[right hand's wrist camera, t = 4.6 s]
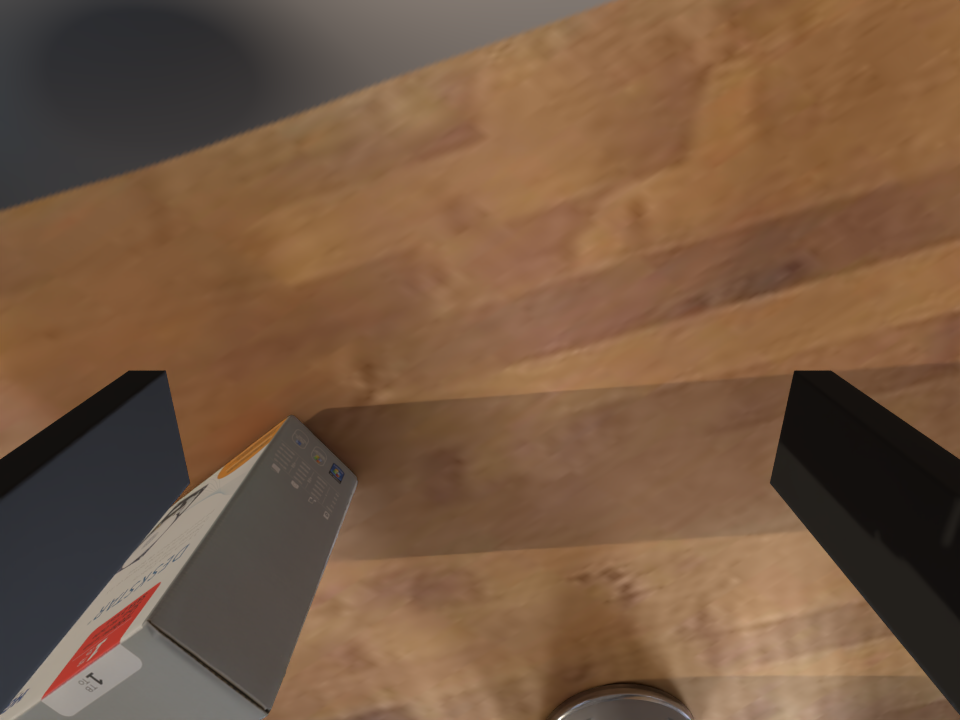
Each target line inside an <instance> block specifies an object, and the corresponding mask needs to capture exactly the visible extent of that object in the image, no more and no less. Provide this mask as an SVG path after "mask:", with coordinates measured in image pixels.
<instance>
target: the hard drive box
mask: <svg viewBox="0 0 960 720" xmlns="http://www.w3.org/2000/svg"><path fill="white" fill-rule="evenodd" d="M357 483H358V481H357V477H356V476H355V475H354V474H353V473H352V472H351V471H350V470H349V468H348V467H346V466H345V465H344V464H343V463H342V462H341V461H340V460H339V459H338V458H337V457H336V456H335V455H334V454H333V453H332V452H331V451H330V450H329V449H328V448H327V447H326V446H325V445H324V444H323V443H322V442H321V441H320V440H319V439H318V438H317V437H316V436H315V435H314V434H313V433H312V432H311V431H310V430H309V429H308V428H307V427H306V426H305V425H304V424H303V423H301V422H300V421H299V420H298V419H297V418H296V417H295V416H294V415H290V416H288V417H287V418H286V419H284V420H283V421H282V422H280V423H279V424H278V425H276V426H275V427H274V428H272V429H271V430H270V431H269V432H267V433H266V434H265V435H263V436H262V437H261V438H259V439H258V440H257V441H256V442H254V443H253V444H252V445H250V446H249V447H248V448H247V449H245V450H244V451H243V452H242V453H240V454H239V455H238V456H236V457H235V458H234V459H232V460H231V461H230V462H229V463H227V464H226V465H225V466H223V467H222V468H221V469H219V470H218V471H217V472H215V473H214V474H213V475H212V476H210V477H209V478H208V479H206V480H205V481H204V482H203V483H201V484H200V485H199V486H197V487H196V488H194V489H193V490H192V491H191V492H190V493H188V494H187V495H186V496H184V497H183V498H182V499H180V500H179V501H178V502H177V503H175V504H174V505H173V506H172V507H171V508H169V509H168V511H167V512H166V513H165V514H164V515H163V517H162V518H161V519H160V520H159V522H158V523H157V524H156V525H155V526H154V528H153V529H152V530H151V531H150V533H149V534H148V535H147V536H146V537H145V539H144V540H143V541H142V542H141V544H140V545H139V546H138V547H137V548H136V550H135V551H134V552H133V553H132V555H131V556H130V557H129V558H128V559H127V561H126V562H125V563H124V564H123V566H122V567H121V568H120V569H119V570H118V572H117V573H116V574H115V575H114V577H113V578H112V579H111V580H110V581H109V583H108V584H107V585H106V586H105V588H104V589H103V590H102V591H101V592H100V594H99V595H98V596H97V597H96V599H95V600H94V601H93V602H92V603H91V605H90V606H89V607H88V608H87V610H86V611H85V612H84V613H83V614H82V616H81V617H80V618H79V619H78V621H77V622H76V623H75V624H74V625H73V627H72V628H71V629H70V630H69V632H68V633H67V634H66V635H65V636H64V638H63V639H62V640H61V641H60V643H59V644H58V645H57V646H56V647H55V649H54V650H53V651H52V652H51V654H50V655H49V656H48V657H47V658H46V660H45V661H44V662H43V663H42V665H41V666H40V667H39V668H38V669H37V671H36V672H35V673H34V674H33V676H32V677H31V678H30V679H29V680H28V682H27V683H26V684H25V685H24V687H23V688H22V689H21V690H20V691H19V693H18V694H17V695H16V696H15V698H14V699H13V700H12V701H11V703H10V704H9V705H8V706H7V707H6V709H5V710H4V711H3V712H2V714H1V715H0V720H261V719H263V718H265V717H266V716H268V714H269V712H270V710H271V708H272V706H273V703H274V701H275V698H276V695H277V693H278V691H279V688H280V685H281V683H282V680H283V678H284V676H285V674H286V669H287V667H288V664H289V662H290V659H291V656H292V653H293V651H294V648H295V645H296V643H297V640H298V638H299V635H300V632H301V630H302V627H303V624H304V622H305V619H306V616H307V614H308V611H309V609H310V606H311V603H312V601H313V598H314V596H315V593H316V590H317V588H318V585H319V583H320V580H321V578H322V575H323V572H324V570H325V567H326V565H327V562H328V559H329V557H330V554H331V551H332V549H333V546H334V544H335V541H336V538H337V536H338V533H339V531H340V528H341V525H342V523H343V520H344V518H345V515H346V512H347V510H348V507H349V505H350V502H351V499H352V497H353V494H354V492H355V489H356V486H357Z"/></svg>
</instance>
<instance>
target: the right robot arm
mask: <svg viewBox="0 0 960 720" xmlns="http://www.w3.org/2000/svg"><path fill="white" fill-rule="evenodd" d="M189 484H190V480H189V476H188V471H187V467H186V462H185V457H184V453H183V448H182V444H181V439H180V434H179V430H178V425H177V420H176V416H175V411H174V407H173V402H172V397H171V393H170V388H169V383H168V379H167V374H166V371H128V372H126V373H125V374H123V375H122V376H121V377H119V378H118V379H116V380H115V381H113V382H112V383H110V384H109V385H108V386H106V387H105V388H103V389H102V390H100V391H99V392H97V393H96V394H94V395H93V396H92V397H90V398H89V399H87V400H86V401H84V402H83V403H81V404H80V405H79V406H77V407H76V408H74V409H73V410H71V411H70V412H68V413H67V414H65V415H64V416H63V417H61V418H60V419H58V420H57V421H55V422H54V423H52V424H51V425H50V426H48V427H47V428H45V429H44V430H42V431H41V432H39V433H38V434H36V435H35V436H34V437H32V438H31V439H29V440H28V441H26V442H25V443H23V444H22V445H21V446H19V447H18V448H16V449H15V450H13V451H12V452H10V453H9V454H8V455H6V456H5V457H3V458H2V459H0V715H1V714H2V712H3V711H4V710H5V709H6V707H7V706H8V705H9V704H10V703H11V701H12V700H13V699H14V698H15V696H16V695H17V694H18V693H19V691H20V690H21V689H22V688H23V687H24V685H25V684H26V683H27V682H28V680H29V679H30V678H31V677H32V676H33V674H34V673H35V672H36V671H37V669H38V668H39V667H40V666H41V665H42V663H43V662H44V661H45V660H46V658H47V657H48V656H49V655H50V654H51V652H52V651H53V650H54V649H55V647H56V646H57V645H58V644H59V643H60V641H61V640H62V639H63V638H64V636H65V635H66V634H67V633H68V632H69V630H70V629H71V628H72V627H73V625H74V624H75V623H76V622H77V621H78V619H79V618H80V617H81V616H82V614H83V613H84V612H85V611H86V610H87V608H88V607H89V606H90V605H91V603H92V602H93V601H94V600H95V599H96V597H97V596H98V595H99V594H100V592H101V591H102V590H103V589H104V588H105V586H106V585H107V584H108V583H109V581H110V580H111V579H112V578H113V577H114V575H115V574H116V573H117V572H118V570H119V569H120V568H121V567H122V566H123V564H124V563H125V562H126V561H127V559H128V558H129V557H130V556H131V555H132V553H133V552H134V551H135V550H136V548H137V547H138V546H139V545H140V544H141V542H142V541H143V540H144V539H145V537H146V536H147V535H148V534H149V533H150V531H151V530H152V529H153V528H154V526H155V525H156V524H157V523H158V522H159V520H160V519H161V518H162V517H163V515H164V514H165V513H166V512H167V511H168V509H169V508H170V507H171V506H172V504H173V503H174V502H175V501H176V500H177V498H178V497H179V496H180V495H181V493H182V492H183V491H184V490H185V489H186V487H187V486H188V485H189ZM770 484H771V485H772V486H773V487H774V489H775V490H776V491H777V492H778V493H779V495H780V496H781V497H782V498H783V500H784V501H785V502H786V503H787V504H788V506H789V507H790V508H791V509H792V511H793V512H794V513H795V514H796V515H797V517H798V518H799V519H800V520H801V522H802V523H803V524H804V525H805V526H806V528H807V529H808V530H809V531H810V533H811V534H812V535H813V536H814V537H815V539H816V540H817V541H818V542H819V544H820V545H821V546H822V547H823V548H824V550H825V551H826V552H827V553H828V555H829V556H830V557H831V558H832V559H833V561H834V562H835V563H836V564H837V566H838V567H839V568H840V569H841V570H842V572H843V573H844V574H845V575H846V577H847V578H848V579H849V580H850V581H851V583H852V584H853V585H854V586H855V588H856V589H857V590H858V591H859V592H860V594H861V595H862V596H863V597H864V599H865V600H866V601H867V602H868V603H869V605H870V606H871V607H872V608H873V610H874V611H875V612H876V613H877V614H878V616H879V617H880V618H881V619H882V621H883V622H884V623H885V624H886V625H887V627H888V628H889V629H890V630H891V632H892V633H893V634H894V635H895V636H896V638H897V639H898V640H899V641H900V643H901V644H902V645H903V646H904V647H905V649H906V650H907V651H908V652H909V654H910V655H911V656H912V657H913V658H914V660H915V661H916V662H917V663H918V665H919V666H920V667H921V668H922V669H923V671H924V672H925V673H926V674H927V676H928V677H929V678H930V679H931V680H932V682H933V683H934V684H935V685H936V687H937V688H938V689H939V690H940V692H941V693H942V694H943V695H944V696H945V698H946V699H947V700H948V701H949V703H950V704H951V705H952V706H953V707H954V709H955V710H956V711H957V712H958V714H959V715H960V459H958V458H957V457H955V456H954V455H952V454H951V453H950V452H948V451H947V450H945V449H944V448H942V447H941V446H939V445H938V444H937V443H935V442H934V441H932V440H931V439H929V438H928V437H926V436H925V435H924V434H922V433H921V432H919V431H918V430H916V429H915V428H913V427H912V426H910V425H909V424H908V423H906V422H905V421H903V420H902V419H900V418H899V417H897V416H896V415H895V414H893V413H892V412H890V411H889V410H887V409H886V408H884V407H883V406H881V405H880V404H879V403H877V402H876V401H874V400H873V399H871V398H870V397H868V396H867V395H866V394H864V393H863V392H861V391H860V390H858V389H857V388H855V387H854V386H852V385H851V384H850V383H848V382H847V381H845V380H844V379H842V378H841V377H839V376H838V375H837V374H835V373H834V372H832V371H794V374H793V379H792V383H791V388H790V393H789V397H788V402H787V407H786V411H785V416H784V420H783V425H782V430H781V434H780V439H779V444H778V448H777V453H776V457H775V462H774V467H773V471H772V476H771V480H770ZM546 720H694V718H693V716H692V714H691V713H690V711H689V710H688V709H687V707H686V706H685V705H684V704H683V703H682V702H681V701H679V700H678V699H677V698H675V697H674V696H672V695H670V694H668V693H666V692H664V691H662V690H659V689H656V688H652V687H649V686H643V685H636V684H613V685H606V686H600V687H596V688H592V689H589V690H586V691H584V692H581V693H579V694H577V695H575V696H573V697H571V698H569V699H568V700H566V701H564V702H563V703H562V704H560V705H559V706H558V707H557V708H556V709H555V710H554V711H553V712H552V713H551V714H550V715H549V716H548V718H547V719H546Z"/></svg>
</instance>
